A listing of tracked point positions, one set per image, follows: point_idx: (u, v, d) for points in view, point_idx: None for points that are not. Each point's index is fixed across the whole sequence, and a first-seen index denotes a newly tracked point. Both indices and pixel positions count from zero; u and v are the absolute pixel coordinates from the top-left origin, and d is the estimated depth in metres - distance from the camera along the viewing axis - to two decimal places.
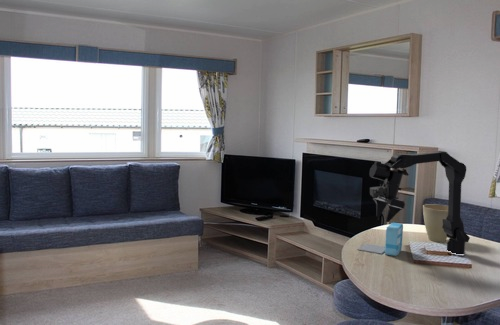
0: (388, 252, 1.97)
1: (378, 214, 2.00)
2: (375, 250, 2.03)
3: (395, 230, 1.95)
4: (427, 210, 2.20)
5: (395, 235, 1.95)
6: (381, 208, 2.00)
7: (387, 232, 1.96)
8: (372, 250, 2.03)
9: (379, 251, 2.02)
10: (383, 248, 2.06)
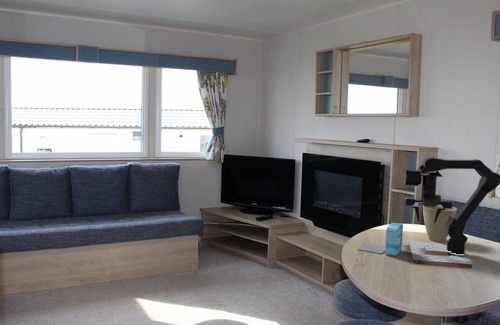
0: (388, 252, 1.97)
1: None
2: (375, 250, 2.03)
3: (395, 230, 1.95)
4: (427, 210, 2.20)
5: (395, 235, 1.95)
6: None
7: (387, 232, 1.96)
8: (372, 250, 2.03)
9: (379, 251, 2.02)
10: (383, 248, 2.06)
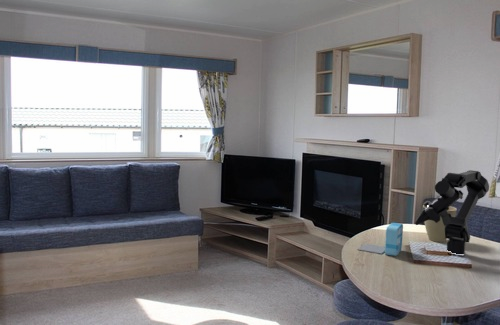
0: (388, 252, 1.97)
1: None
2: (375, 250, 2.03)
3: (395, 230, 1.95)
4: None
5: (395, 235, 1.95)
6: None
7: (387, 232, 1.96)
8: (372, 250, 2.03)
9: (379, 251, 2.02)
10: (383, 248, 2.06)
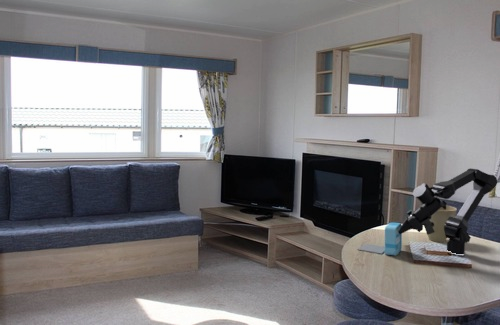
0: (388, 252, 1.97)
1: None
2: (375, 250, 2.03)
3: (393, 229, 1.95)
4: None
5: (394, 234, 1.95)
6: None
7: (386, 232, 1.97)
8: (372, 250, 2.03)
9: (379, 251, 2.02)
10: (383, 248, 2.06)
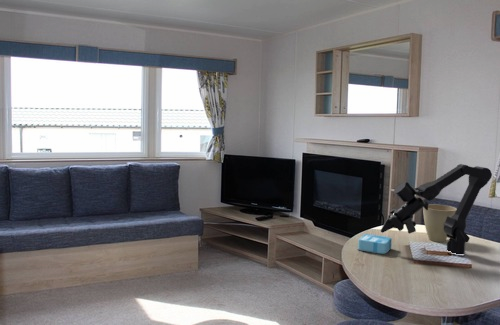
0: (381, 250, 1.98)
1: None
2: None
3: (359, 241, 2.03)
4: (427, 210, 2.20)
5: (364, 241, 2.02)
6: None
7: (361, 249, 2.02)
8: None
9: None
10: None
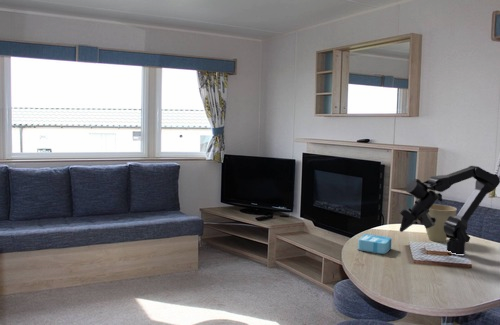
0: (381, 250, 1.98)
1: None
2: None
3: (359, 241, 2.03)
4: None
5: (364, 241, 2.02)
6: None
7: (361, 249, 2.02)
8: None
9: None
10: None
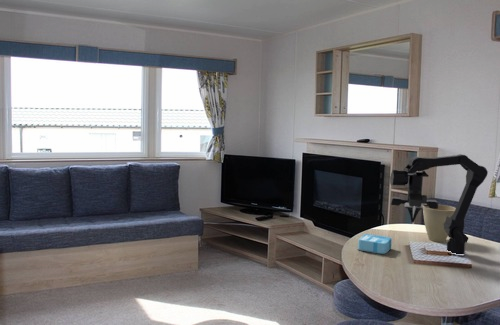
0: (381, 250, 1.98)
1: None
2: None
3: (359, 241, 2.03)
4: (427, 210, 2.20)
5: (364, 241, 2.02)
6: None
7: (361, 249, 2.02)
8: None
9: None
10: None
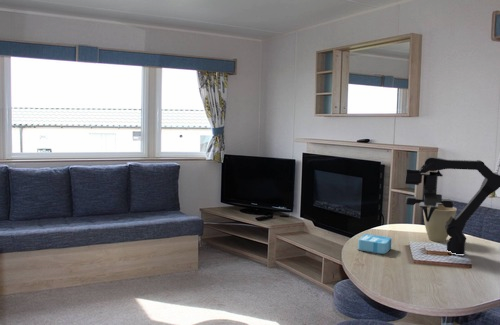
0: (381, 250, 1.98)
1: None
2: None
3: (359, 241, 2.03)
4: (427, 210, 2.20)
5: (364, 241, 2.02)
6: (427, 212, 2.05)
7: (361, 249, 2.02)
8: None
9: None
10: None
